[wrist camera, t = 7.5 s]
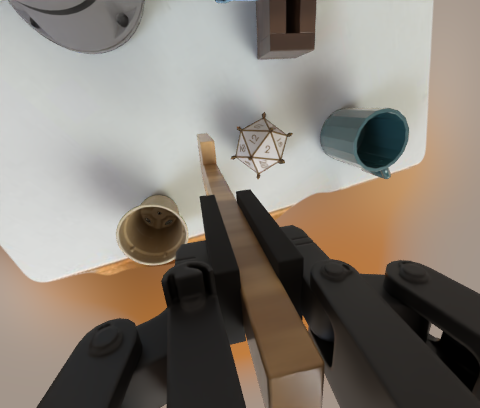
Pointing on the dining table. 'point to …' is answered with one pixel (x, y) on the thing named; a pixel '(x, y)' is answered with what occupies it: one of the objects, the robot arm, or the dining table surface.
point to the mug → (366, 138)
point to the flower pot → (152, 231)
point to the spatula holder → (285, 28)
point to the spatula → (266, 307)
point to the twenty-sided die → (261, 145)
